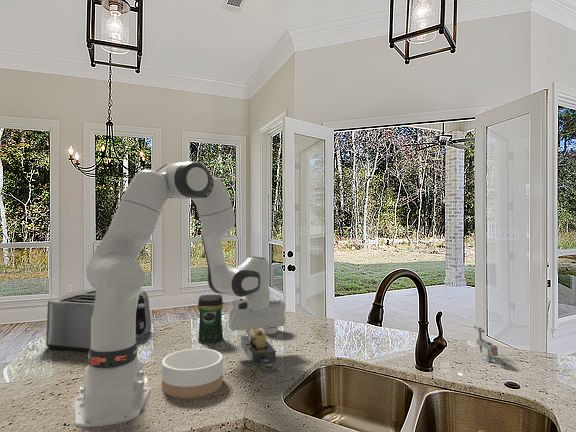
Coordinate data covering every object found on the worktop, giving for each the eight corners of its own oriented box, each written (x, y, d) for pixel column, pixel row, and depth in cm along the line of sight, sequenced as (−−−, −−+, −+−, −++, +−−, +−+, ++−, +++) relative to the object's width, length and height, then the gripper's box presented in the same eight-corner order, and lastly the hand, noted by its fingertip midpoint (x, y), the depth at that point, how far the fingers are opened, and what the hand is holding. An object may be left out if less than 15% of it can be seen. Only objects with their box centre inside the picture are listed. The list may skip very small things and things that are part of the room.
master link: (265, 349, 133) (265, 332, 133) (256, 350, 132) (256, 333, 132) (257, 339, 144) (257, 324, 144) (249, 340, 143) (249, 324, 143)
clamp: (498, 365, 128) (497, 334, 129) (492, 365, 128) (490, 334, 129) (478, 352, 143) (477, 325, 144) (472, 352, 143) (471, 325, 144)
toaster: (109, 359, 134) (109, 304, 134) (33, 351, 141) (33, 300, 141) (155, 334, 162) (155, 289, 162) (90, 329, 169) (90, 286, 169)
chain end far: (236, 340, 153) (236, 330, 153) (256, 338, 156) (256, 328, 156) (245, 355, 137) (245, 344, 137) (267, 353, 140) (267, 342, 140)
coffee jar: (224, 338, 156) (224, 292, 156) (221, 345, 148) (221, 296, 148) (200, 339, 155) (200, 292, 155) (196, 345, 147) (196, 297, 147)
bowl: (198, 370, 124) (198, 344, 124) (235, 385, 114) (235, 356, 114) (149, 388, 111) (149, 359, 111) (185, 407, 100) (185, 375, 100)
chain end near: (282, 372, 123) (282, 359, 123) (258, 375, 120) (258, 362, 120) (268, 354, 139) (268, 342, 139) (246, 356, 136) (246, 345, 136)
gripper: (282, 298, 144) (282, 335, 144) (227, 301, 138) (227, 340, 138) (287, 301, 138) (287, 340, 138) (230, 305, 132) (230, 346, 132)
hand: (257, 340), depth 138 cm, fingers closed on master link, 3 cm apart
